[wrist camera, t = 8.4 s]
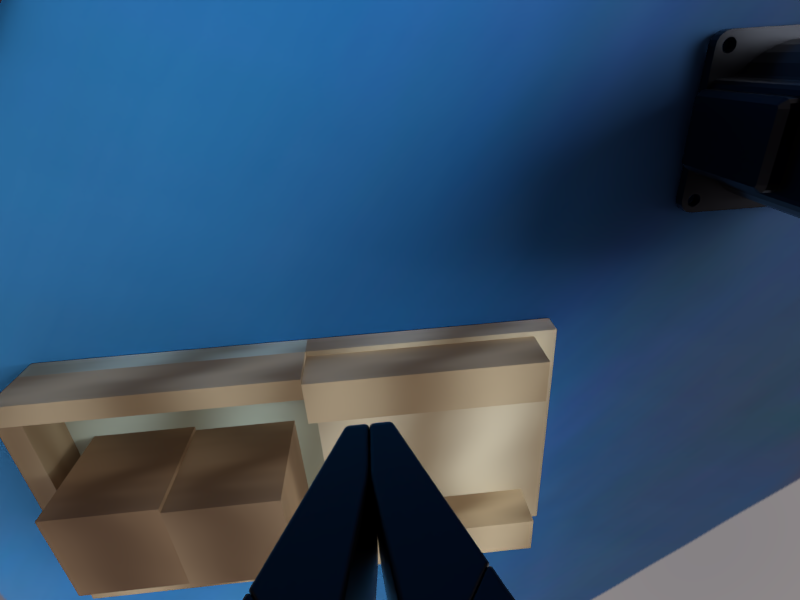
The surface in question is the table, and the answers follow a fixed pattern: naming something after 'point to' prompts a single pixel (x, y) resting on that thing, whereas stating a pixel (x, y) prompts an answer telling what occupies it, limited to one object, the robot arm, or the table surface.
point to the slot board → (319, 409)
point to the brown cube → (234, 499)
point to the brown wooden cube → (118, 513)
